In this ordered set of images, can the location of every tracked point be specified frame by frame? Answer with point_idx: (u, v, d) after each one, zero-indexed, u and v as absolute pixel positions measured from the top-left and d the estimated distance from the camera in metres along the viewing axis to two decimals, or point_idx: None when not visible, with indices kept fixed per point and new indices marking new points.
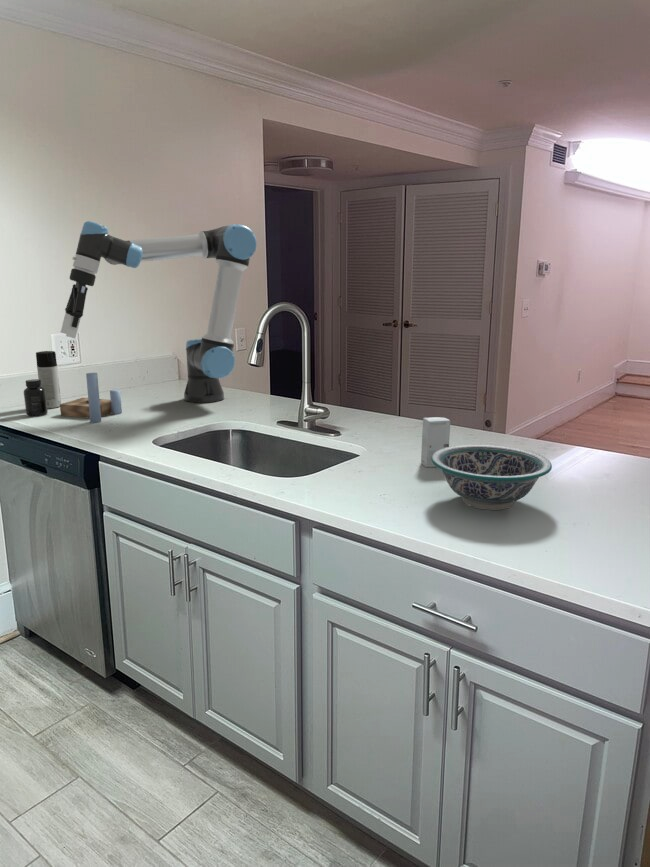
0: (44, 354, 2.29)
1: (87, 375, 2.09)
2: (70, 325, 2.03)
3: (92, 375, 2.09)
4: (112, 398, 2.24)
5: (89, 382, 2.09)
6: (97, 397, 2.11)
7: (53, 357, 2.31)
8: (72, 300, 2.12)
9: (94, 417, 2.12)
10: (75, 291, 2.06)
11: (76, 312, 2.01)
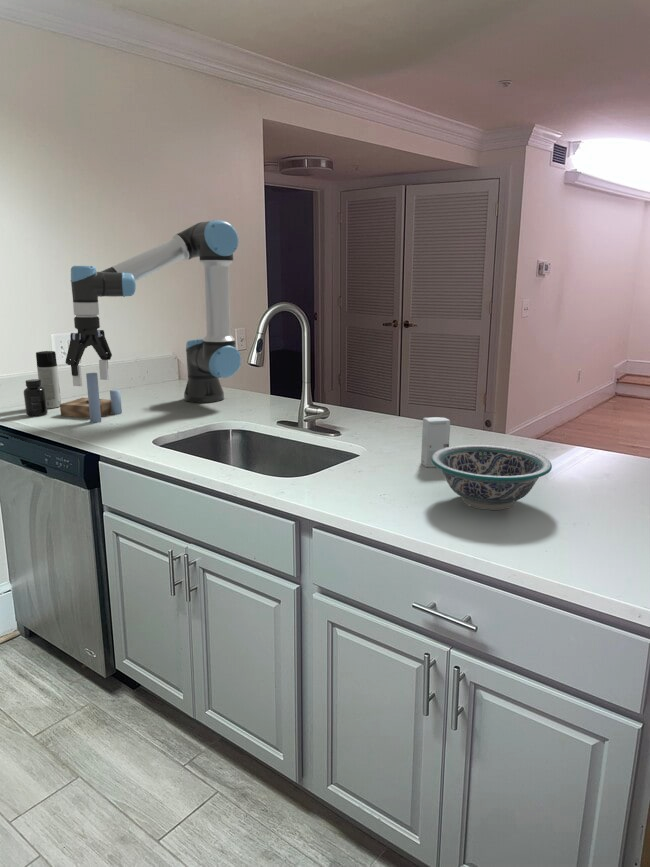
0: (44, 354, 2.29)
1: (87, 375, 2.09)
2: None
3: (92, 375, 2.09)
4: (112, 398, 2.24)
5: (89, 382, 2.09)
6: (97, 397, 2.11)
7: (53, 357, 2.31)
8: (93, 346, 2.12)
9: (94, 417, 2.12)
10: None
11: (67, 361, 2.00)
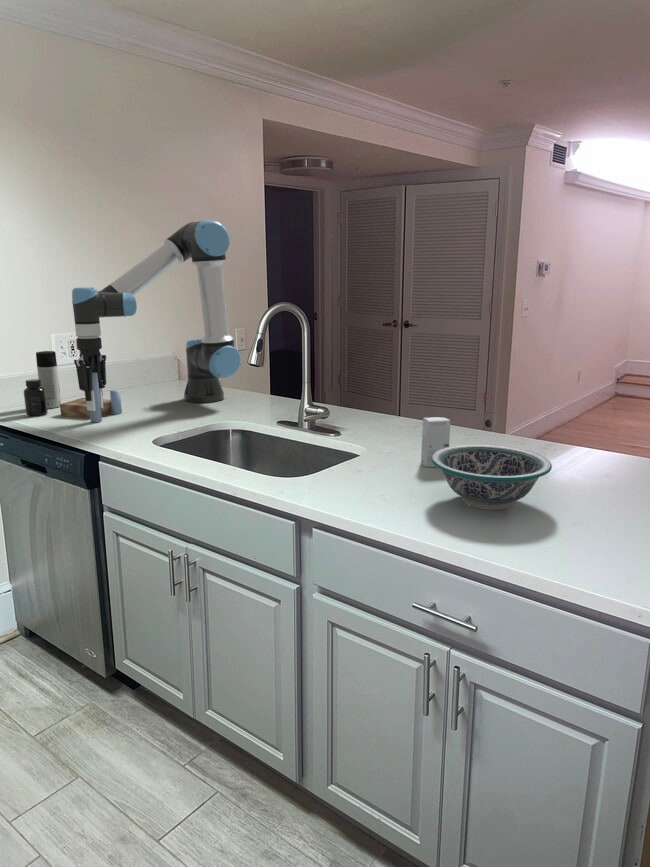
0: (44, 354, 2.29)
1: None
2: None
3: (92, 374, 2.09)
4: (112, 398, 2.24)
5: None
6: (97, 396, 2.11)
7: (53, 357, 2.31)
8: (92, 369, 2.11)
9: (94, 416, 2.12)
10: None
11: (80, 387, 2.07)
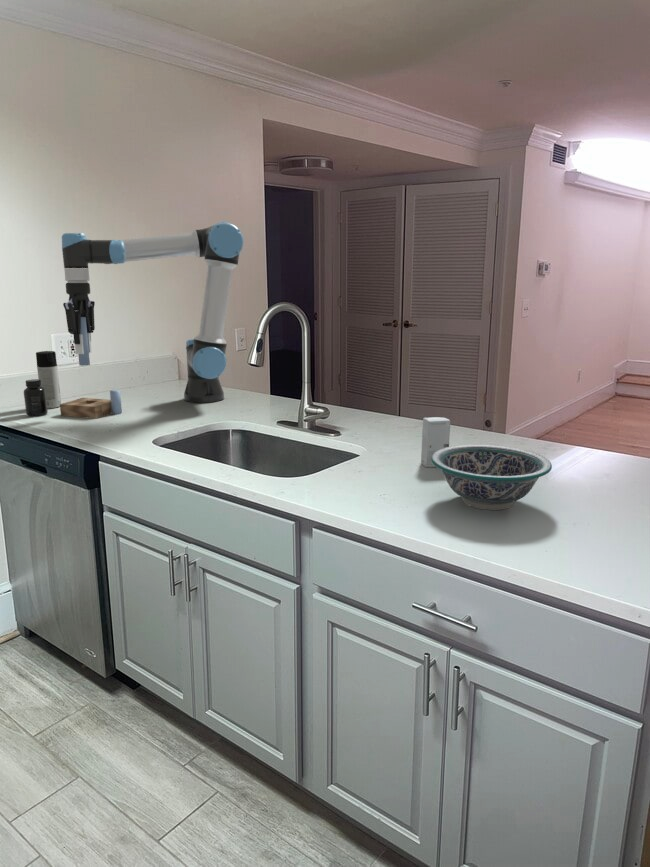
0: (44, 354, 2.29)
1: None
2: None
3: (81, 318, 2.17)
4: (112, 398, 2.24)
5: None
6: (86, 340, 2.19)
7: (53, 357, 2.31)
8: (81, 314, 2.19)
9: (83, 360, 2.20)
10: (71, 305, 2.15)
11: (69, 330, 2.14)
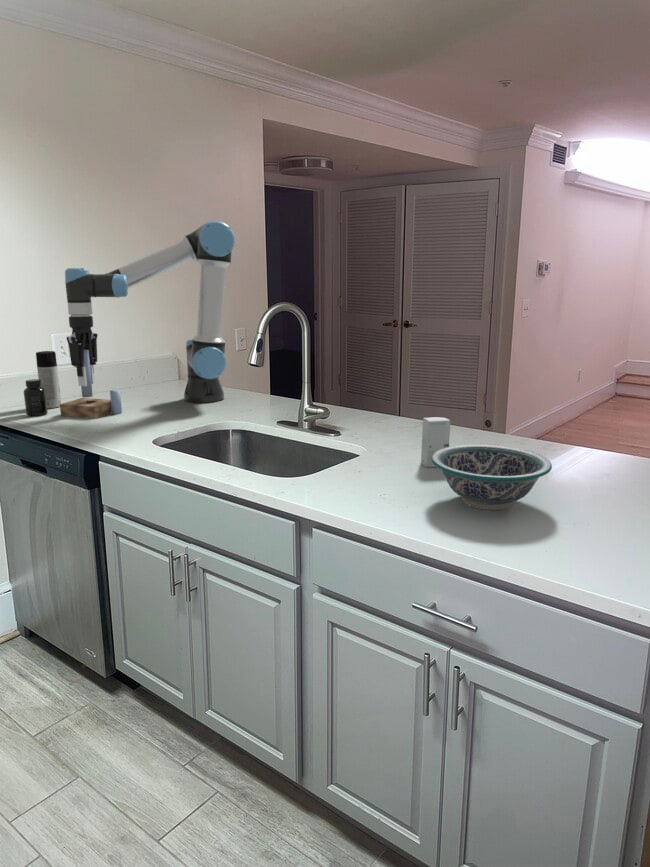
0: (44, 354, 2.29)
1: None
2: None
3: (84, 351, 2.19)
4: (112, 398, 2.24)
5: None
6: (88, 372, 2.22)
7: (53, 357, 2.31)
8: (84, 346, 2.22)
9: (86, 392, 2.23)
10: (75, 338, 2.18)
11: (72, 363, 2.17)
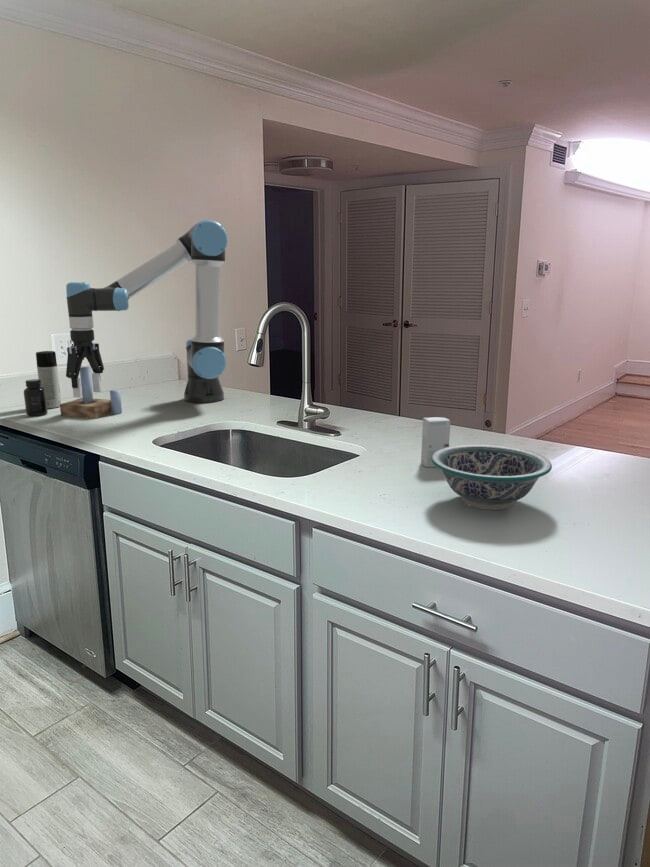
0: (44, 354, 2.29)
1: (80, 369, 2.21)
2: None
3: (85, 369, 2.21)
4: (112, 398, 2.24)
5: (83, 375, 2.21)
6: (90, 390, 2.23)
7: (53, 357, 2.31)
8: (88, 358, 2.25)
9: None
10: None
11: (67, 375, 2.15)
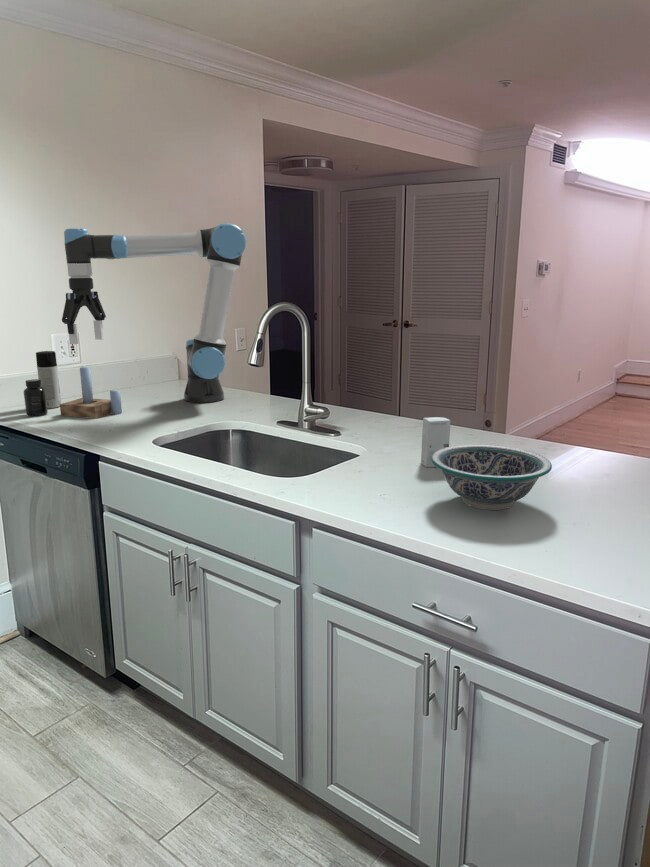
0: (44, 354, 2.29)
1: (81, 369, 2.21)
2: None
3: (85, 369, 2.21)
4: (112, 398, 2.24)
5: (83, 375, 2.21)
6: (90, 390, 2.24)
7: (53, 357, 2.31)
8: (88, 307, 2.22)
9: None
10: None
11: (63, 320, 2.10)
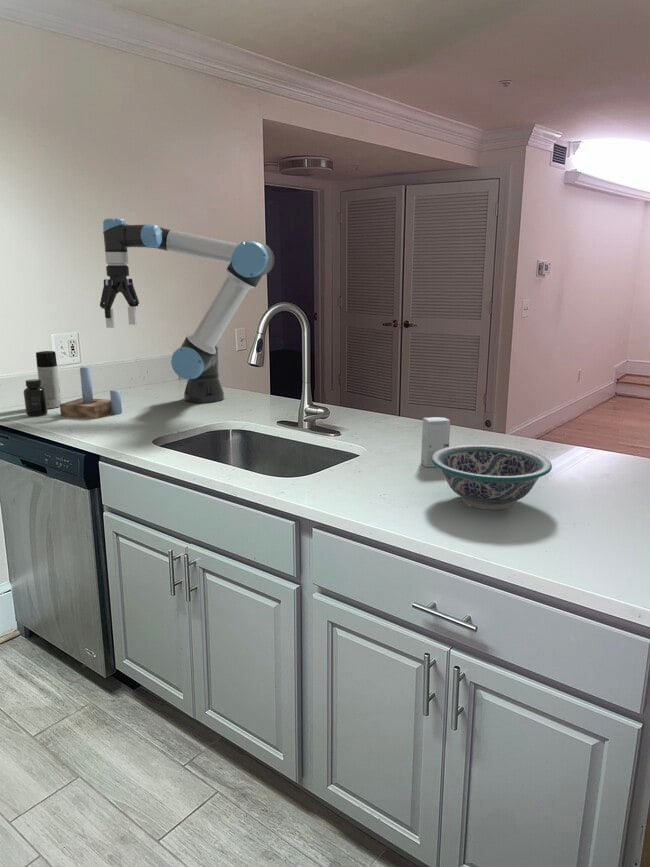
0: (44, 354, 2.29)
1: (81, 369, 2.21)
2: None
3: (85, 369, 2.21)
4: (112, 398, 2.24)
5: (83, 375, 2.21)
6: (90, 390, 2.24)
7: (53, 357, 2.31)
8: (123, 293, 2.34)
9: None
10: None
11: (101, 304, 2.23)
